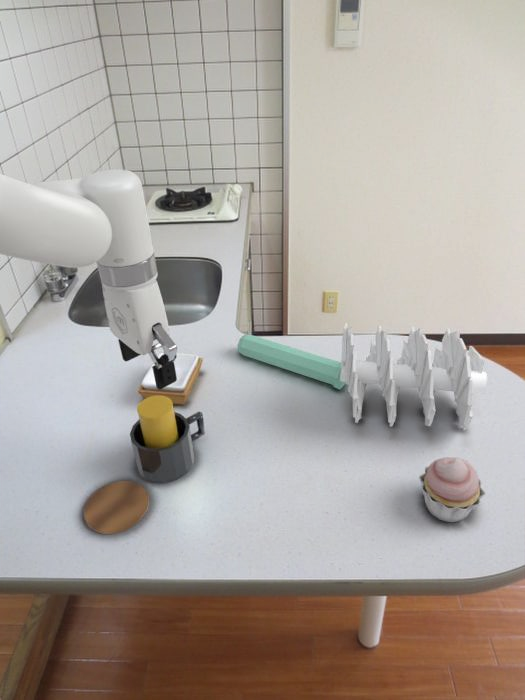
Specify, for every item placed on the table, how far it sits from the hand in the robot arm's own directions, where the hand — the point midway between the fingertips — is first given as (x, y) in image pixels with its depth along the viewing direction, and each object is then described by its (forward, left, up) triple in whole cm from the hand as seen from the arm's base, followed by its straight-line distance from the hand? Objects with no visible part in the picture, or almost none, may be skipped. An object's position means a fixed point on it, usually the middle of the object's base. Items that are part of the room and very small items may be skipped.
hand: (149, 370), depth 80 cm
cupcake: (+46, +4, -20) cm, 50 cm away
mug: (+1, +1, -20) cm, 20 cm away
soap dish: (-8, +19, -20) cm, 28 cm away
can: (0, 0, -19) cm, 19 cm away
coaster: (-3, -11, -20) cm, 23 cm away
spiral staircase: (+38, +24, -20) cm, 49 cm away
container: (+13, +32, -20) cm, 40 cm away
